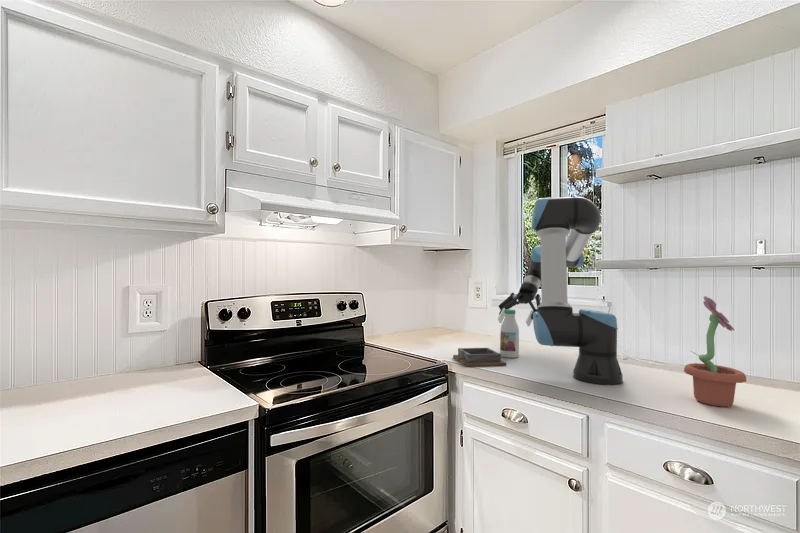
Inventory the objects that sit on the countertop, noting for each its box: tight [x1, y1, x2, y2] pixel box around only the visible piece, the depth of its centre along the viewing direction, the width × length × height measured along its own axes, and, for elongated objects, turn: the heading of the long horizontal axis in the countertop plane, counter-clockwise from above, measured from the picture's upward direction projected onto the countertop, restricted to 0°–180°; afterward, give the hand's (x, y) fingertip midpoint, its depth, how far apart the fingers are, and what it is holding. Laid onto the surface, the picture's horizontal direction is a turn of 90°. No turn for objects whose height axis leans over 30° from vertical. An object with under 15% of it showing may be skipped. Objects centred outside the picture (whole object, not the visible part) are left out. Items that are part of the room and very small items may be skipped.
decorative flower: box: [683, 296, 747, 408], centre depth 113 cm, size 15×14×30 cm
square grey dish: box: [453, 347, 507, 368], centre depth 162 cm, size 16×16×4 cm
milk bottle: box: [499, 308, 520, 359], centre depth 173 cm, size 8×8×20 cm
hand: (513, 322), depth 176 cm, fingers open, 13 cm apart
